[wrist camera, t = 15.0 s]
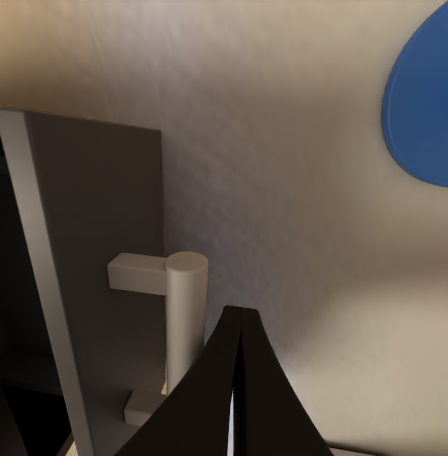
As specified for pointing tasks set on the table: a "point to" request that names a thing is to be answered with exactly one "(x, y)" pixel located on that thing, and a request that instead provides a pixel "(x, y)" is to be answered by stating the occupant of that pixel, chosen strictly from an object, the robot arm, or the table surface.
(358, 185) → the table surface
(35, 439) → the black drawer box
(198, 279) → the drawer
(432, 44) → the lid
